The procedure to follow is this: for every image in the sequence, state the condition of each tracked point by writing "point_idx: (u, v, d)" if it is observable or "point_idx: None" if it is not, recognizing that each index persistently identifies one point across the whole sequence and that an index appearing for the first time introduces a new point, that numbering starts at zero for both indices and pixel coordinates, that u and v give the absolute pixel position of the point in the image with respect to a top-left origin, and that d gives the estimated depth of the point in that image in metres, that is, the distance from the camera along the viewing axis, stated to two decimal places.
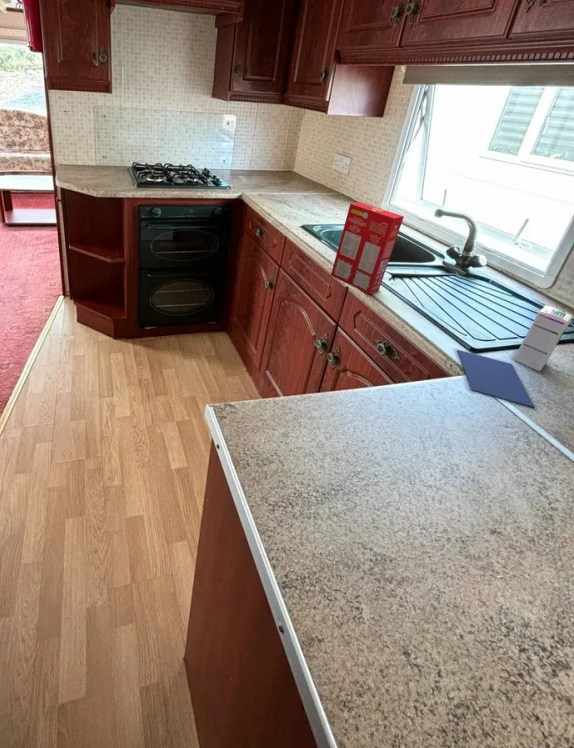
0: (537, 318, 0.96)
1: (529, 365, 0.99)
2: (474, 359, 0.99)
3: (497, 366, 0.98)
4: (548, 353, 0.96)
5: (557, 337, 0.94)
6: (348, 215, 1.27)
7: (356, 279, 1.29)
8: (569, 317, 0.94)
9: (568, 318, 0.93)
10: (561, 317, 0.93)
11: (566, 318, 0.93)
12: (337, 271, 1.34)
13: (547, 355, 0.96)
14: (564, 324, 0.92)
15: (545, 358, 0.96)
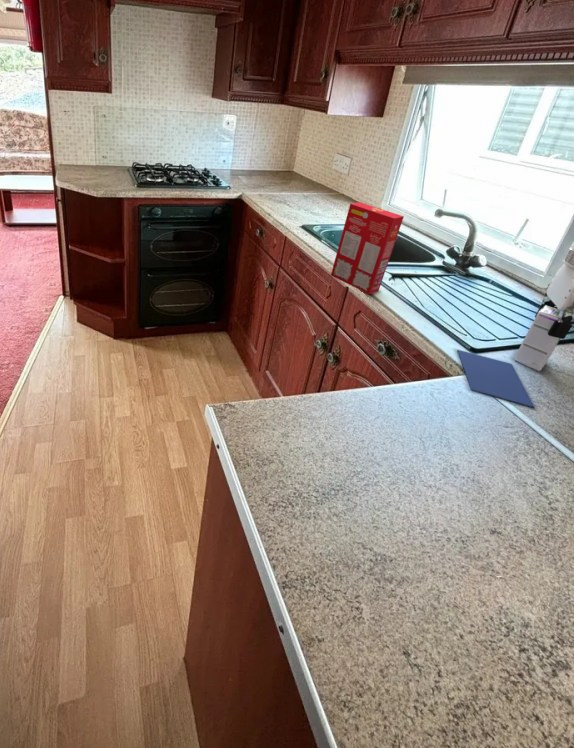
0: (537, 318, 0.96)
1: (529, 365, 0.99)
2: (474, 359, 0.99)
3: (497, 366, 0.98)
4: (548, 353, 0.96)
5: None
6: (348, 215, 1.27)
7: (356, 279, 1.29)
8: None
9: None
10: None
11: None
12: (337, 271, 1.34)
13: (547, 355, 0.96)
14: None
15: (545, 358, 0.96)
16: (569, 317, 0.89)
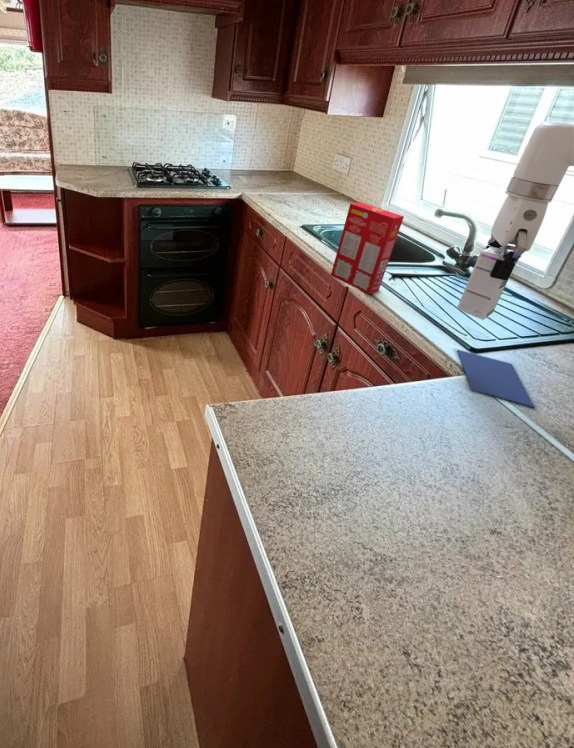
0: (479, 259, 0.86)
1: (473, 314, 0.89)
2: (474, 359, 0.99)
3: (497, 366, 0.98)
4: (492, 298, 0.85)
5: (500, 279, 0.83)
6: (348, 215, 1.27)
7: (356, 279, 1.29)
8: None
9: None
10: None
11: None
12: (337, 271, 1.34)
13: (491, 301, 0.86)
14: None
15: (489, 304, 0.86)
16: (510, 253, 0.78)
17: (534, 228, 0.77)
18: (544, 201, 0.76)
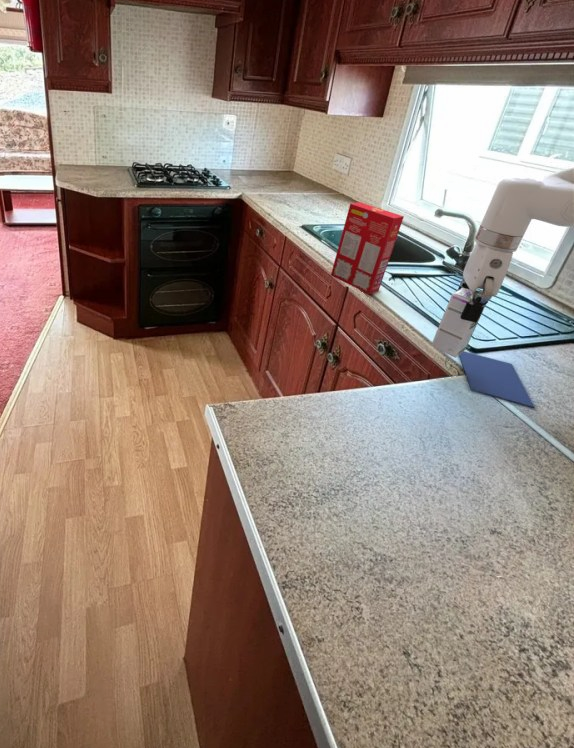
0: (451, 300, 0.90)
1: (446, 351, 0.93)
2: (474, 359, 0.99)
3: (497, 366, 0.98)
4: (463, 338, 0.90)
5: None
6: (348, 215, 1.27)
7: (356, 279, 1.29)
8: None
9: None
10: None
11: None
12: (337, 271, 1.34)
13: (462, 340, 0.90)
14: None
15: (460, 343, 0.90)
16: (478, 298, 0.83)
17: (500, 276, 0.81)
18: (509, 251, 0.80)
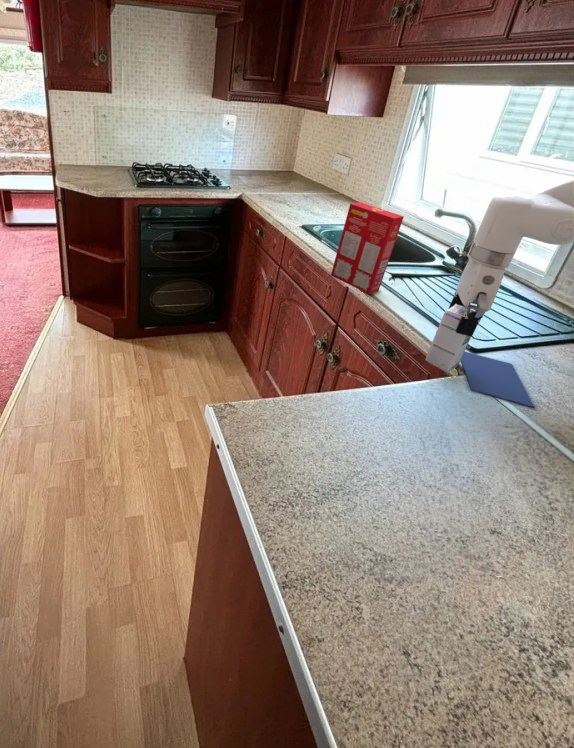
0: (444, 317, 0.92)
1: (439, 366, 0.95)
2: (474, 359, 0.99)
3: (497, 366, 0.98)
4: (455, 354, 0.92)
5: (463, 337, 0.90)
6: (348, 215, 1.27)
7: (356, 279, 1.29)
8: None
9: None
10: None
11: None
12: (337, 271, 1.34)
13: (455, 356, 0.92)
14: None
15: (453, 359, 0.92)
16: (473, 313, 0.83)
17: (492, 292, 0.83)
18: (501, 267, 0.82)
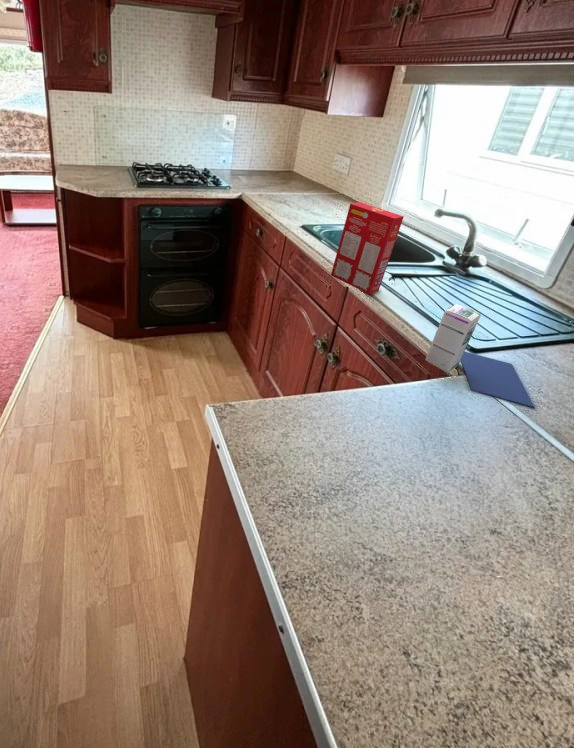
0: (444, 317, 0.92)
1: (439, 366, 0.95)
2: (474, 359, 0.99)
3: (497, 366, 0.98)
4: (455, 354, 0.92)
5: (463, 337, 0.90)
6: (348, 215, 1.27)
7: (356, 279, 1.29)
8: (475, 316, 0.89)
9: (474, 317, 0.89)
10: (466, 316, 0.89)
11: (471, 317, 0.89)
12: (337, 271, 1.34)
13: (455, 356, 0.92)
14: (468, 323, 0.88)
15: (453, 359, 0.92)
16: None
17: None
18: None
